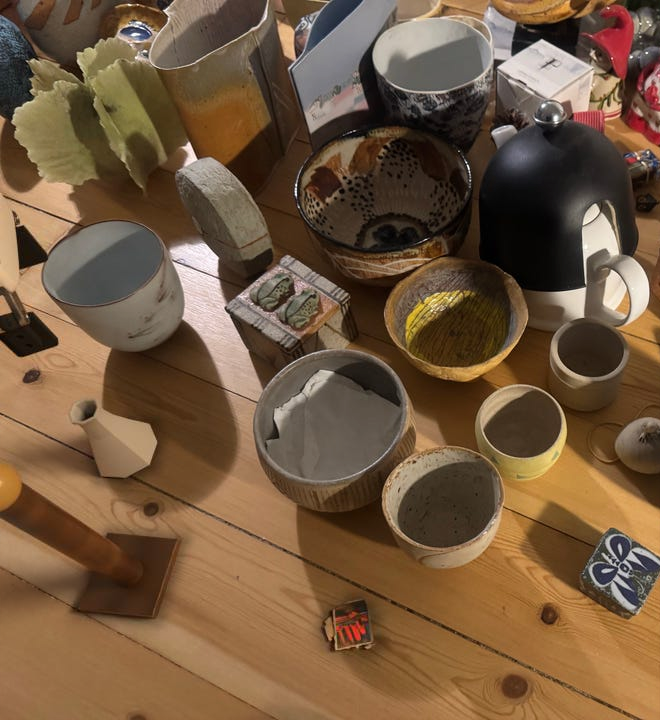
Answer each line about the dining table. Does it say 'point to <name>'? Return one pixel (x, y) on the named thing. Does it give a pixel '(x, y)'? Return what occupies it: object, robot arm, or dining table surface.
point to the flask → (114, 439)
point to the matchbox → (350, 625)
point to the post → (94, 551)
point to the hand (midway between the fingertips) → (35, 304)
